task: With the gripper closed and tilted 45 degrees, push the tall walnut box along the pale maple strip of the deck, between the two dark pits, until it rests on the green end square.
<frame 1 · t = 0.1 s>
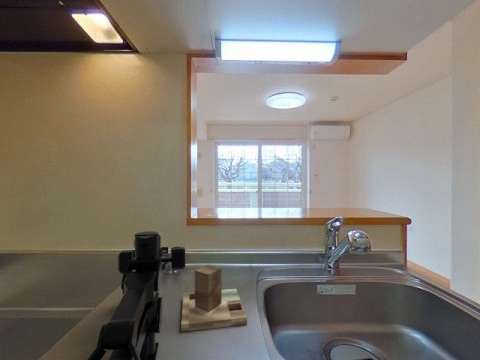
hand: (156, 251, 83), 17 cm above the worktop, tool horizontal, fingers open, 9 cm apart
walnut box: (208, 304, 78), point 2 cm above the worktop, touching deck
deck: (212, 310, 78), on the worktop
supplement bottle: (137, 306, 81), on the worktop
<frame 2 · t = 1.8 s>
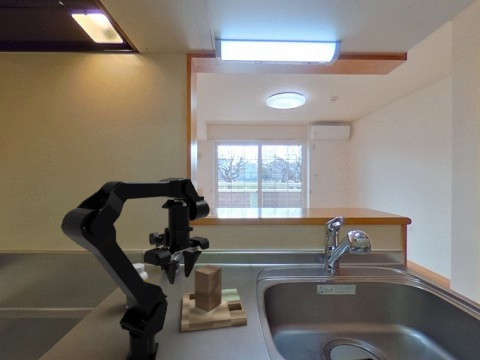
hand: (179, 280, 69), 13 cm above the worktop, tool pointing down, fingers open, 5 cm apart
nothing on the worktop moved.
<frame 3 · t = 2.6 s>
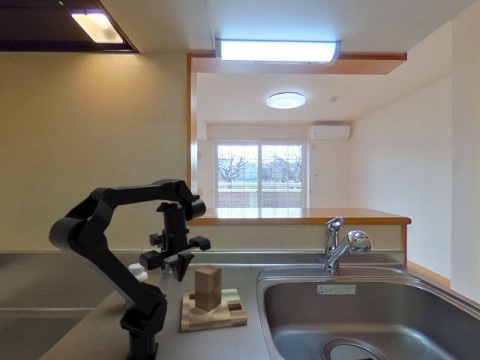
hand: (179, 281, 69), 13 cm above the worktop, tool pointing down, fingers closed
nothing on the worktop moved.
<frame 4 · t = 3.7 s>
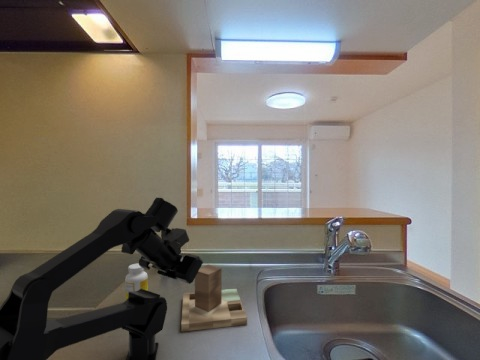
hand: (186, 278, 70), 13 cm above the worktop, tool tilted 45°, fingers closed
nothing on the worktop moved.
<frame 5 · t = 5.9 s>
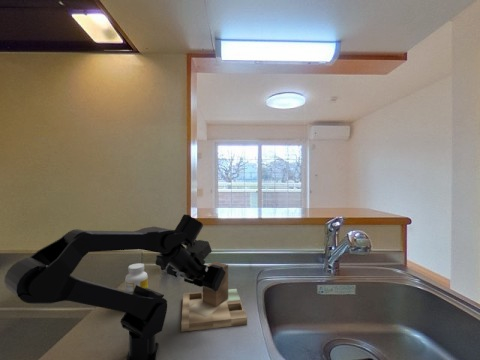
hand: (208, 284, 78), 8 cm above the worktop, tool tilted 45°, fingers closed
walnut box: (215, 300, 81), point 2 cm above the worktop, touching deck
everything else where it was.
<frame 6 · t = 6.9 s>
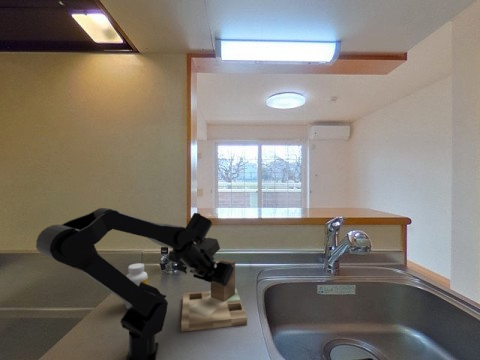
hand: (216, 280, 81), 8 cm above the worktop, tool tilted 45°, fingers closed, pressing on walnut box
walnut box: (223, 295, 84), point 2 cm above the worktop, touching deck, gripper
everything else where it was.
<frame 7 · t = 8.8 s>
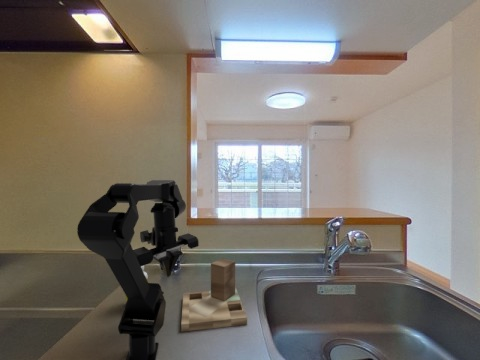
hand: (168, 276, 74), 12 cm above the worktop, tool pointing down, fingers closed
walnut box: (223, 295, 84), point 2 cm above the worktop, touching deck
everything else where it was.
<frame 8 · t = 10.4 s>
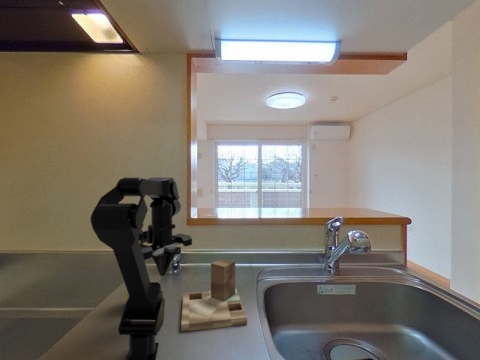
hand: (162, 275, 73), 13 cm above the worktop, tool pointing down, fingers closed
nothing on the worktop moved.
at the end: walnut box inside the target area on the deck (0.5 cm from its centre), point 2.0 cm above the deck's base; walnut box tilted 0°; walnut box moved 7.3 cm from its start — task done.
